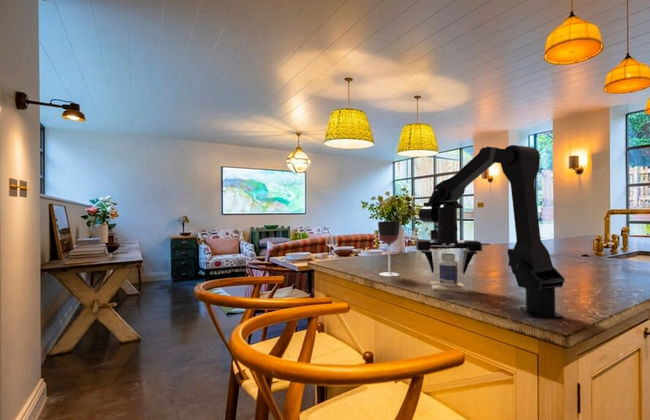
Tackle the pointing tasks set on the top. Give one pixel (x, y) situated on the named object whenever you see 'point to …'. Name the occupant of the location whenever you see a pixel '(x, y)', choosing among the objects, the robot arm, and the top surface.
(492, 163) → the robot arm
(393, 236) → the wineglass
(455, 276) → the pill bottle
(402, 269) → the top surface
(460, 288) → the coaster
